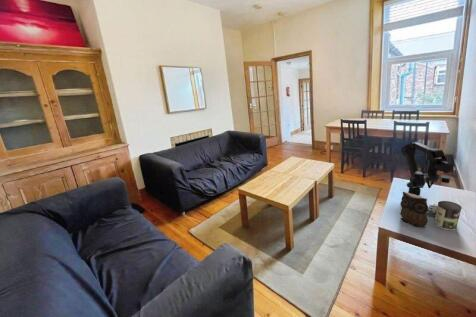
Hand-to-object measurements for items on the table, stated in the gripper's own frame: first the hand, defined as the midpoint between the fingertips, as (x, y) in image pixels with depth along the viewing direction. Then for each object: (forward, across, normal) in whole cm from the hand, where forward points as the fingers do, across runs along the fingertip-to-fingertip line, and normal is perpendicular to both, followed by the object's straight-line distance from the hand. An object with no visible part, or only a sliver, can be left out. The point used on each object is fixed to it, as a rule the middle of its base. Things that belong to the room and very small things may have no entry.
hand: (429, 188), depth 155 cm
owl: (+12, -2, -29) cm, 32 cm away
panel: (+12, +8, -11) cm, 18 cm away
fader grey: (+10, +6, -13) cm, 17 cm away
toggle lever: (+10, +5, -16) cm, 19 cm away
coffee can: (+12, +12, -23) cm, 29 cm away
